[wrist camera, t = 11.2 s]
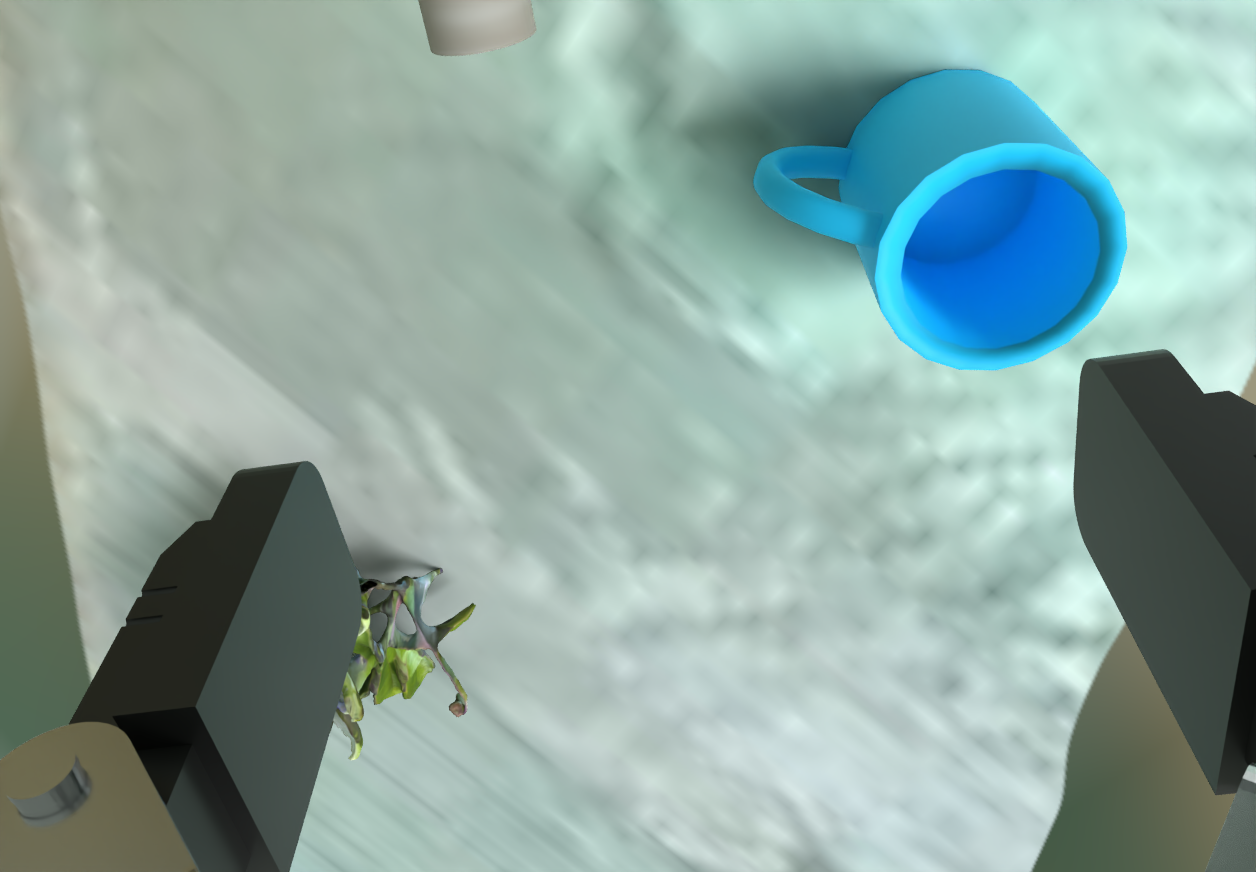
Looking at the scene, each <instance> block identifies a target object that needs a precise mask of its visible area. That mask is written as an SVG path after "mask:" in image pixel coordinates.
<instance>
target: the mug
mask: <svg viewBox="0 0 1256 872" xmlns="http://www.w3.org/2000/svg"><path fill="white" fill-rule="evenodd" d="M797 178H830V179H837V180H839V194H840V198H841V202H838V201H835V200H832V199H829V198H827V197H824V196H822V195H820V194H817V193H815V192H813V191H810V190H808V189H806V188H803V187H801V186H800V185H798V184H797V183H795V182H793V181H792V180H790V179H797ZM753 184H754V188H755V190H756V192H757V193H758V195H759V196H760V198H761V199H762V201H763V202H764V203H765V204H766V205H767V206H768V207H769V208H771V209H772V210H774V211H775V212H777V213H778V214H780V215H781V216H783V217H784V218H786V219H787V220H790V221H792V222H794V223H796V224H799V225H801V226H803V227H805V228H808V229H810V230H812V231H814V232H817V233H820V234H823V235H826V236H829V237H832V238H836V239H839V240H842V241H845V242H848V243H851V244H855V245H856V248H857V251H858V253H859V256H860V258H861V261H862V263H863V266H864V268H865V271H866V274H867V276H868V279H869V281H870V284H871V286H872V289H873V291H874V294H875V297H876V299H877V302H878V304H879V307H880V309H881V312H882V313H883V315H884V316H885V318H886V320H887V321H888V323H889V324H890V326H891V327H892V329H893V330H894V332H895V334H896V335H897V337H898V338H899V339H900V340H901V341H902V342H904V343H905V344H906V345H908V346H909V347H910V348H912V349H913V350H914V351H916V352H917V353H918V354H920V355H921V356H923V357H924V358H925V359H927V360H931V361H934V362H937V363H940V364H943V365H946V366H949V367H953V368H956V369H959V370H999V369H1003V368H1007V367H1011V366H1015V365H1019V364H1023V363H1027V362H1031V361H1034V360H1036V359H1038V358H1039V357H1041V356H1043V355H1045V354H1047V353H1049V352H1051V351H1053V350H1054V349H1056V348H1058V347H1060V346H1062V345H1064V344H1066V343H1067V342H1069V341H1070V340H1071V339H1072V338H1073V337H1074V336H1075V335H1076V334H1077V333H1079V332H1080V331H1081V330H1082V329H1083V328H1084V327H1085V326H1086V325H1087V324H1088V323H1089V322H1091V321H1092V320H1093V319H1094V318H1095V317H1096V316H1097V315H1098V313H1099V312H1100V310H1101V308H1102V307H1103V305H1104V304H1105V302H1106V300H1107V299H1108V297H1109V296H1110V294H1111V293H1112V291H1113V289H1114V288H1115V286H1116V285H1117V283H1118V279H1119V276H1120V272H1121V268H1122V265H1123V261H1124V257H1125V254H1126V250H1127V238H1126V225H1125V212H1124V210H1123V208H1122V206H1121V204H1120V202H1119V200H1118V198H1117V196H1116V194H1115V192H1114V190H1113V188H1112V186H1111V184H1110V182H1109V180H1108V179H1107V178H1106V177H1105V176H1104V175H1103V174H1102V173H1101V172H1100V171H1099V170H1098V169H1097V167H1096V166H1095V165H1094V164H1093V163H1092V162H1091V161H1090V160H1089V159H1088V158H1087V157H1086V156H1085V155H1084V154H1083V153H1082V152H1081V151H1080V150H1079V149H1078V147H1077V146H1076V145H1075V144H1074V143H1073V142H1072V141H1071V140H1070V139H1069V138H1068V137H1067V136H1066V135H1065V134H1064V133H1063V132H1062V131H1061V130H1060V129H1059V128H1058V126H1057V125H1056V124H1055V123H1054V122H1053V121H1052V120H1051V119H1050V118H1049V117H1048V116H1047V115H1046V114H1045V113H1044V112H1043V111H1042V110H1041V109H1040V108H1039V106H1038V105H1037V104H1036V103H1035V102H1034V101H1032V100H1031V99H1030V98H1029V97H1028V96H1027V95H1026V94H1024V93H1023V92H1022V91H1021V90H1020V89H1019V88H1018V87H1017V86H1015V85H1014V84H1013V83H1012V82H1011V81H1008V80H1005V79H1003V78H1000V77H997V76H995V75H992V74H989V73H986V72H984V71H981V70H947V69H945V70H942V71H938V72H935V73H932V74H928V75H925V76H921V77H918V78H915V79H911V80H909V81H908V82H906V83H905V84H903V85H902V86H900V87H899V88H897V89H895V90H894V91H892V92H891V93H889V94H888V95H886V96H885V97H883V98H881V99H880V100H879V101H878V102H877V103H876V105H875V106H874V107H873V108H872V109H871V110H870V111H869V113H868V114H867V115H866V116H865V117H864V118H863V119H862V121H861V122H860V123H859V124H858V125H857V126H856V129H855V131H854V133H853V135H852V137H851V139H850V142H849V144H848V146H847V148H841V147H832V146H807V145H805V146H796V147H786V148H781V149H779V150H776V151H774V152H772V153H769V154H767V155H765V156H764V157H763V158H762V159H761V160H760V162H759V164H758V166H757V169H756V172H755V175H754V180H753Z"/></svg>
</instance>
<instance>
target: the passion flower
mask: <svg viewBox="0 0 1256 872" xmlns="http://www.w3.org/2000/svg"><path fill="white" fill-rule="evenodd" d="M355 569H356V572H357V575H358V579H359V584H360V590H361V600H362V615H361V624H360V629H359V633H358V637H357V640H356V643H355V647H354V650H353V653H356V654H358V655H356V656H354V657H352V658H351V661H350V664H349V668H348V671H347V674H346V678H345V681H344V685H343V688H342V692H341V695H340V698H339V702H338V705H337V709H336V712H335V716H334V719H333V722H334V723H335V724H336V725H337V727H338V728H340V729H341V730H342V731H343V733H344V735H345V736H348V737H349V738H350V740H351V751H352V754H351V756H350V757H349V759H350V760H354V759H357V758H358V757H359V754H360V751H361V748H362V746H363V738H362V734H361V730H360V728H359V726H358V724H357V722H356V721H360V720H362V718H363V716H364V710H363V705H362V702H361V699H362V698H364V697H367V696H369V694H370V691H371V692H372V693H374V695H373V697H374V705H375V704H376V705H377V704H380V703H382V701H383V700H384V699H387V698H389V697H391V696H394V695H396V694H398V693H402V695H403V697H404V699H410V698H411V697H412V696H413V695H414V693H415V691H416V690H417V688H418V687H419V686H420V684H421V682H422V681H423V679H424V678H425V676H426V674H427V673H429V672H432V669H434V668H435V663H434V662H433V661H432V659H431V658H430V657H429V656H428V655H427V654H426V652H425V650H423V649H430V650H432V651H433V653H434V655H435V656H436V658H437V660H438V661H439V663H440V664H441V666H442V669H443V670H444V671H445V672H446V673H447V674H448V676H449V677H450V679H451V681H452V682H453V684H454V685H455V688H456V690H457V691H458V692H459V693H458V694H457V695H456V700H455V702H453V703H451V704H450V706H449V710H450V711H451V712H452V713H453V714H454V715H456V717H459V716H460V715H464V714H465V713H466V712H467V694H466V693H465V691H464V690H463V688H462V686H461V684H460V682H459V681H458V680H457V678H456V676H455V675H454V673H453V671H452V669H451V668H450V667H449V666H448V664H447V663H446V661H445V659H444V658H443V657H442V656H441V655H440V653H439V652H438V649H437V647H438V643H439V642H440V641H441V640H442V639H443V638H444V637H445V636H446V635H447V634H448V633H449V632H450V631H454V630H455V629H457V628H458V627H459V626H460V625H461V624H462V623H463V622H465V621H466V620H468V618H469V617H470V615H471V614H472V612H473V610H474V608H475V606H476V605H474V604H473V603H472V604H471V605H470V606H469V607H467V608H465V609H464V610H462V611H461V612H459V613H458V614H457V615H455V616H454V617H453V618H451V619H449V620H447V621H446V622H444V623H442V624H440V625H437V626H427V625H426V624H425V623H424V622H423V621H422V619H421V606H422V604H423V603H424V601H425V598H426V593H427V591H428V588H429V586H430V585H431V583H432V581H433V580H434V578H435V577H436V576H437V575H439V574H441V573H442V572H443V570H442V568H439V569H438V570H434V571H431V572H430V573H428V574H427V575H425V576H422V577H419V578H417V577H413V578H410V577H408V576H404V577H402V578H401V579H399V580H398V581H397V582H395V583H383V582H381V581H378V580H374V579H364V578H361V576H360V575H359V571H358V569H357V568H356V567H355ZM374 588H376V589H383V590H392V591H391V594H390V595H389V596H388V598H387V599H385V600H384V601H382V602H381V603H379V604H378V605H376V606H374V607H372V608H369V609H368V606H367V600H368V598H369V596H370V593H371V591H372V590H373V589H374ZM402 603H404V604H405V605H406V607H407V609H408V611H409V612H410V614H411V616H412V618H413V621H414V623H415V625H416V630H417V631H416V633H414V634H411V635H407V634H405V633H403V632H401V631H399V630H398V629H397V627H396V624H395V618H396V614H397V611H398V609H399V606H400V604H402ZM378 612H382V613H385V614H386V615H387V617H388V622H387V627H386V629H385V631H384V633H383V635H382V637H381V639H380V641H378V642H377V643H376V642H375V641H374V640H373V639H372V632H371V629H370V627H369V624H370V615H371V614H374V613H378ZM358 692H359V693H358ZM332 725H333V723H332ZM331 728H332V726H331ZM330 731H331V729H330Z"/></svg>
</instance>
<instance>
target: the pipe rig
mask: <svg viewBox="0 0 1256 872" xmlns="http://www.w3.org/2000/svg"><path fill="white" fill-rule="evenodd" d="M418 1H419V5H420V9H421V13H422V17H423V21H424V25H425V29H426V33H427V37H428V41H429V45H430V49H431V52H432V53H434V54H436V55H441V56H463V55H472V54H479V53H484V52H489V51H493V50H497V49H501V48H505V47H508V46H511V45H514V44H516V43H519V42H521V41H523V40H525V39H527V38H529V37H531V36H532V35H533V34H534V33H535V32H536V25H535V20H534V15H533V10H532V5H531V0H418Z"/></svg>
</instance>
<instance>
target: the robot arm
mask: <svg viewBox="0 0 1256 872" xmlns="http://www.w3.org/2000/svg"><path fill="white" fill-rule="evenodd" d="M1074 504H1075V511H1076V516H1077V521H1078V525H1079V529H1080V532H1081V535H1082V538H1083V541H1084V543H1085V545H1086V547H1087V549H1088V551H1089V553H1090V555H1091V557H1092V559H1093V561H1094V563H1095V565H1096V567H1097V569H1098V571H1099V572H1100V574H1101V576H1102V578H1103V580H1104V582H1105V584H1106V586H1107V588H1108V590H1109V592H1110V594H1111V596H1112V597H1113V599H1114V601H1115V603H1116V605H1117V607H1118V609H1119V611H1120V613H1121V615H1122V617H1123V619H1124V621H1125V622H1126V624H1127V626H1128V628H1129V630H1130V632H1131V634H1132V636H1133V638H1134V639H1135V642H1136V643H1137V646H1138V647H1139V649H1140V651H1141V653H1142V655H1143V657H1144V659H1145V661H1146V663H1147V664H1148V666H1149V669H1150V670H1151V672H1152V674H1153V676H1154V678H1155V680H1156V682H1157V684H1158V686H1159V688H1160V689H1161V692H1162V694H1163V695H1164V697H1165V699H1166V701H1167V703H1168V705H1169V707H1170V709H1171V711H1172V713H1173V715H1174V717H1175V718H1176V720H1177V722H1178V724H1179V726H1180V728H1181V730H1182V732H1183V734H1184V736H1185V738H1186V740H1187V742H1188V743H1189V745H1190V747H1191V749H1192V751H1193V753H1194V755H1195V757H1196V759H1197V761H1198V762H1199V765H1200V766H1201V768H1202V770H1203V772H1204V774H1205V776H1206V778H1207V780H1208V782H1209V784H1210V786H1211V788H1212V790H1213V791H1214V793H1215V795H1222V794H1231V793H1236V795H1235V798H1234V800H1233V803H1232V805H1231V808H1230V810H1229V813H1228V815H1227V818H1226V821H1225V823H1224V826H1223V828H1222V830H1221V833H1220V835H1219V838H1218V841H1217V843H1216V846H1215V848H1214V850H1213V853H1212V855H1211V858H1210V860H1209V863H1208V866H1207V868H1206V870H1205V872H1256V405H1254V404H1252V403H1250V402H1248V401H1247V400H1245V399H1243V398H1241V397H1239V396H1238V395H1236V394H1234V393H1232V392H1230V391H1223V392H1215V393H1207V394H1204V393H1203V392H1202V391H1201V389H1200V388H1199V387H1198V386H1197V384H1196V383H1195V382H1194V381H1193V379H1192V378H1191V377H1190V376H1189V374H1188V373H1187V372H1186V370H1185V369H1184V368H1183V367H1182V365H1181V364H1180V363H1179V362H1178V360H1177V359H1176V358H1175V357H1174V356H1173V355H1172V353H1171V352H1169V351H1168V350H1164V349H1162V350H1154V351H1147V352H1139V353H1131V354H1124V355H1116V356H1109V357H1101V358H1094V359H1089V360H1087V361H1086V362H1085V363H1084V365H1083V368H1082V371H1081V376H1080V385H1079V401H1078V418H1077V434H1076V451H1075V467H1074ZM141 591H142V597H138V598H137V599H136V601H135V603H134V605H133V607H132V609H131V610H130V612H129V614H128V616H127V618H126V626H125V627H121V629H120V631H119V633H118V634H117V636H116V638H115V640H114V642H113V644H112V645H111V647H110V649H109V651H108V653H107V655H106V656H105V658H104V660H103V662H102V664H101V666H100V668H99V669H98V671H97V673H96V675H95V677H94V679H93V680H92V682H91V684H90V686H89V688H88V690H87V692H86V693H85V695H84V697H83V699H82V701H81V703H80V704H79V706H78V708H77V710H76V712H75V714H74V715H73V717H72V719H71V721H70V723H69V725H66V726H62V727H58V728H56V729H53V730H50V731H48V732H45V733H43V734H41V735H39V736H37V737H34V738H32V739H31V740H29V741H27V742H25V743H24V744H22V745H20V746H19V747H17V748H15V749H14V750H13V751H11V752H10V753H9V754H7V755H6V756H5V757H3V758H2V759H1V760H0V872H289V871H290V867H291V864H292V860H293V857H294V853H295V850H296V847H297V843H298V840H299V836H300V833H301V829H302V826H303V822H304V819H305V816H306V812H307V809H308V805H309V802H310V798H311V795H312V791H313V788H314V785H315V781H316V778H317V774H318V771H319V767H320V764H321V760H322V757H323V754H324V750H325V747H326V743H327V740H328V736H329V733H330V729H331V726H332V723H333V719H334V716H335V712H336V709H337V705H338V702H339V698H340V695H341V692H342V688H343V685H344V681H345V678H346V674H347V671H348V668H349V664H350V661H351V657H352V654H353V650H354V647H355V643H356V640H357V637H358V633H359V629H360V624H361V615H362V600H361V590H360V584H359V579H358V575H357V572H356V569H355V566H354V563H353V560H352V558H351V555H350V552H349V550H348V547H347V544H346V542H345V539H344V536H343V534H342V531H341V528H340V525H339V523H338V520H337V517H336V515H335V512H334V509H333V507H332V504H331V501H330V499H329V496H328V493H327V491H326V488H325V485H324V482H323V480H322V478H321V475H320V473H319V472H318V470H317V468H316V467H315V466H314V465H313V464H312V463H311V462H308V461H303V462H296V463H288V464H281V465H273V466H266V467H258V468H251V469H243V470H240V471H238V472H237V473H235V475H234V476H233V478H232V480H231V481H230V483H229V485H228V487H227V489H226V491H225V493H224V495H223V497H222V499H221V501H220V503H219V505H218V507H217V509H216V511H215V513H214V515H213V517H212V519H211V520H206V521H199V522H195V523H194V524H193V525H192V526H191V527H190V528H189V529H188V530H187V531H186V532H185V533H183V534H182V535H181V536H180V537H179V538H178V539H177V540H176V541H175V542H174V543H173V544H172V545H171V546H170V547H169V548H168V549H166V550H165V551H164V552H163V553H162V554H161V555H160V557H159V559H158V561H157V562H156V564H155V566H154V568H153V570H152V572H151V574H150V575H149V577H148V579H147V581H146V583H145V585H144V586H143V588H142V590H141Z"/></svg>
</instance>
